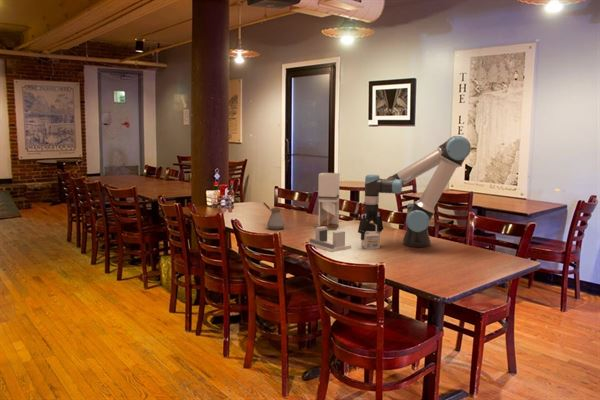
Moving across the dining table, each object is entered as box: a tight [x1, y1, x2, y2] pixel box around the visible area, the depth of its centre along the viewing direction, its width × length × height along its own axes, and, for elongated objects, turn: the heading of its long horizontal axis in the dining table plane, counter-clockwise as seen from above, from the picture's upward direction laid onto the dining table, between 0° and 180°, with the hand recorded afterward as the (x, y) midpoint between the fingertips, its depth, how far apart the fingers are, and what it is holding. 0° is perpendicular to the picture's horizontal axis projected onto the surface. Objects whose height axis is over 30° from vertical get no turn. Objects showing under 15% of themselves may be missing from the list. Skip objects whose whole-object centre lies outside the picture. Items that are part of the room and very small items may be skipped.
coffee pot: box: [262, 202, 286, 231], centre depth 336 cm, size 21×12×15 cm, turn 34°
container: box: [360, 222, 381, 250], centre depth 284 cm, size 8×8×13 cm
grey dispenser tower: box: [317, 172, 340, 231], centre depth 333 cm, size 11×11×35 cm
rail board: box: [308, 226, 352, 253], centre depth 285 cm, size 19×14×10 cm
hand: (370, 244), depth 285 cm, fingers closed on container, 9 cm apart
